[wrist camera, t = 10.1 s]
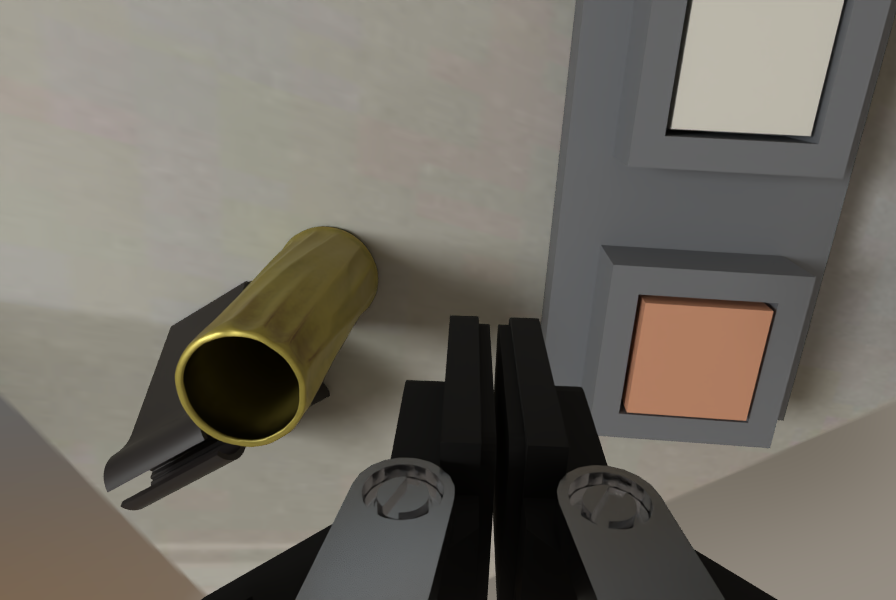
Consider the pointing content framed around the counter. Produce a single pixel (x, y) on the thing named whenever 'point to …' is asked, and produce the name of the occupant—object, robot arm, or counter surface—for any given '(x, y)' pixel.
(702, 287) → the button panel
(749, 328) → the terracotta button
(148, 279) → the counter surface
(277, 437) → the vase
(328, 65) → the counter surface
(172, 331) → the phone stand
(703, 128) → the ivory button
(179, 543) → the counter surface
